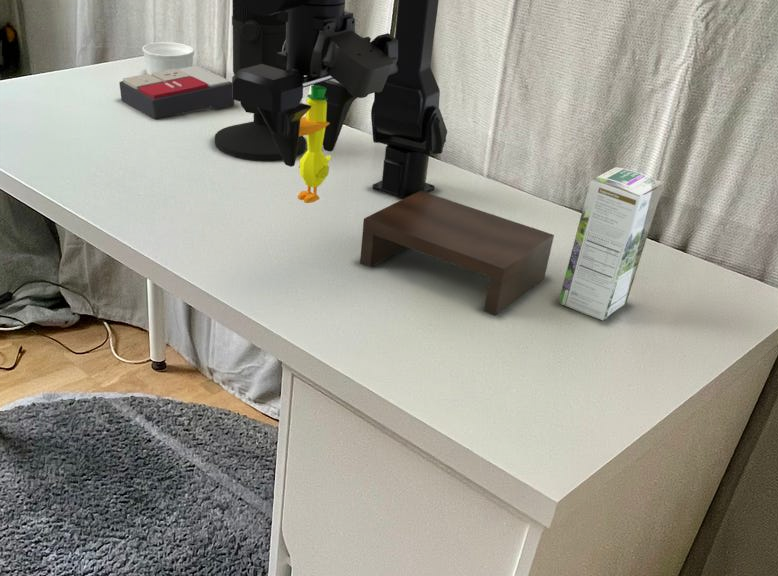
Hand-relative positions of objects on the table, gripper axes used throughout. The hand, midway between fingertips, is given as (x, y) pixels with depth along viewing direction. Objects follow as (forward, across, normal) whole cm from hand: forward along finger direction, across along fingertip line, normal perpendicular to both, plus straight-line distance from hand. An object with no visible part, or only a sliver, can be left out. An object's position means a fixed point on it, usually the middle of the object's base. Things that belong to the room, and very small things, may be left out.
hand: (309, 158), depth 96 cm
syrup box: (+12, +14, -30) cm, 35 cm away
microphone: (+12, +25, +29) cm, 40 cm away
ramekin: (+12, +41, +64) cm, 77 cm away
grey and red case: (+12, +30, +51) cm, 60 cm away
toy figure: (+5, 0, 0) cm, 5 cm away
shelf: (+12, +10, -14) cm, 21 cm away
